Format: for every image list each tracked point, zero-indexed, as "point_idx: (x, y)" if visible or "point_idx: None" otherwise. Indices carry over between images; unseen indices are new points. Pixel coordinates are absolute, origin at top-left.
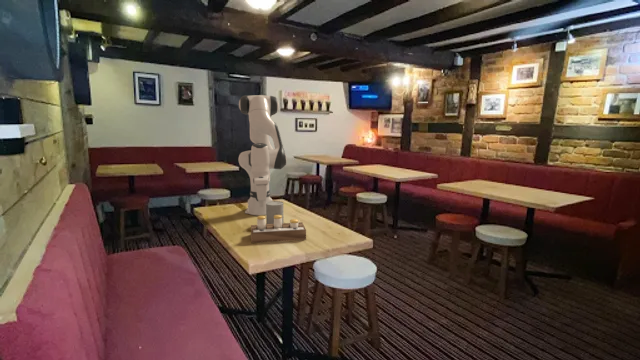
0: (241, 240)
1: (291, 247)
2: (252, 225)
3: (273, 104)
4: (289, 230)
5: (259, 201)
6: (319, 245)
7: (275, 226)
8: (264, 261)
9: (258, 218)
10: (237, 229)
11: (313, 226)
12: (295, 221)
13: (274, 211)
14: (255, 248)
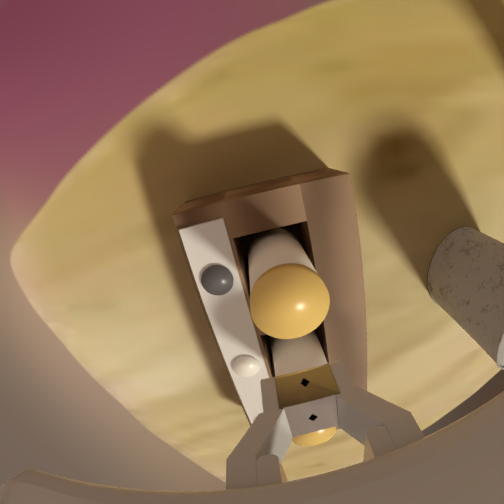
0: (222, 132)
1: (165, 379)
2: (338, 186)
3: None
4: (243, 403)
5: (239, 444)
6: (205, 441)
7: (277, 351)
8: (29, 300)
9: (255, 285)
10: (405, 78)
11: (402, 406)
12: (293, 441)
13: (479, 317)
14: (118, 242)
